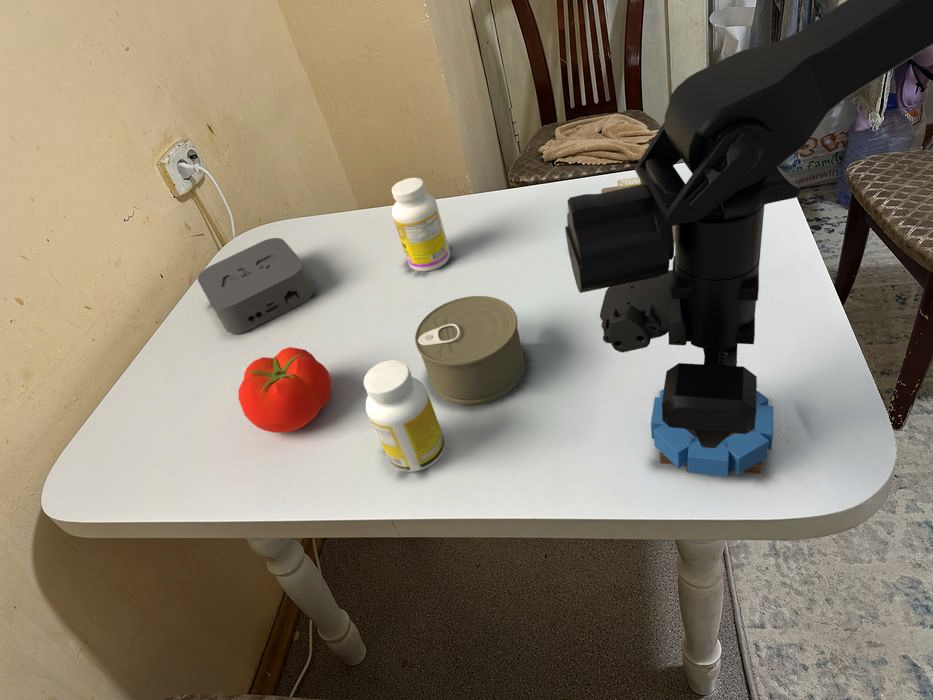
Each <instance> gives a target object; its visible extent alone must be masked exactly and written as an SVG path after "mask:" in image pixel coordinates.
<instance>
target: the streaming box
mask: <svg viewBox="0 0 933 700" xmlns="http://www.w3.org/2000/svg"><path fill="white" fill-rule="evenodd" d="M197 282H198V284H199V285H200V287H201V289H202V291H203V293H204V295H205V297H206V298H207V300H208V302H209V304H210V305H211V308H212V309H213V310H214V312H215V314H216V316H217V317H218V319H219V321H220V323H221V324H222V326H223V327H224V329H225V331H226V332H228V333H229V334H242V333H245V332H247V331H250V330H252V329H254V328H256V327H257V326H260V325H262V324H263V323H265V322H267V321H269V320H271V319H273V318H275V317H277V316H279V315H281V314H283V313H286V312H287V311H290V310H292V309H293V308H294V307H297V306H299V305H301V304H302V303H304V302H306V301H307V300H309V299H311V297H312V296H313V295H314V292H315V286H314V284H313V282H312V280H311V278H310V276H309V273H308V272H307V269H306V266H305V265H304V262H303V260H302V259H301V258H300V256H298V255H297V253H296V252H295V251H294V250H293V249H292V248H291V246H289V244H288V243H287V242H286V241H285V240H284V239H283V238H280V237H271V238H267V239H264V240H262V241H260V242H257V243H256V244H254V245H251V246H249V247H247V248H245V249H243V250H241V251H239V252H237V253H235V254H232V255H230V256H228V257H226V258H224V259H221V260H220V261H217V262H216V263H213V264H211V265H210V266H208V267H205V269H203V270H202V271H201V272H199V275H198V277H197Z"/></svg>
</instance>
